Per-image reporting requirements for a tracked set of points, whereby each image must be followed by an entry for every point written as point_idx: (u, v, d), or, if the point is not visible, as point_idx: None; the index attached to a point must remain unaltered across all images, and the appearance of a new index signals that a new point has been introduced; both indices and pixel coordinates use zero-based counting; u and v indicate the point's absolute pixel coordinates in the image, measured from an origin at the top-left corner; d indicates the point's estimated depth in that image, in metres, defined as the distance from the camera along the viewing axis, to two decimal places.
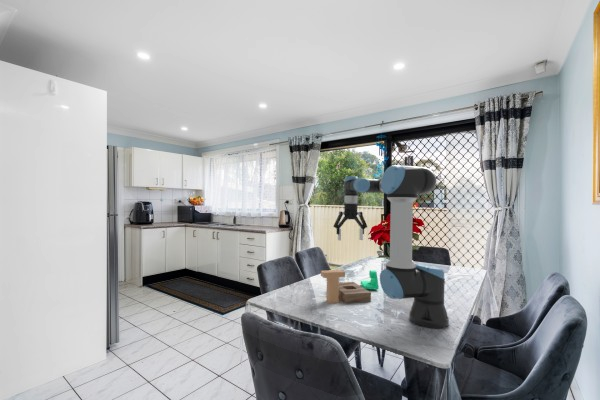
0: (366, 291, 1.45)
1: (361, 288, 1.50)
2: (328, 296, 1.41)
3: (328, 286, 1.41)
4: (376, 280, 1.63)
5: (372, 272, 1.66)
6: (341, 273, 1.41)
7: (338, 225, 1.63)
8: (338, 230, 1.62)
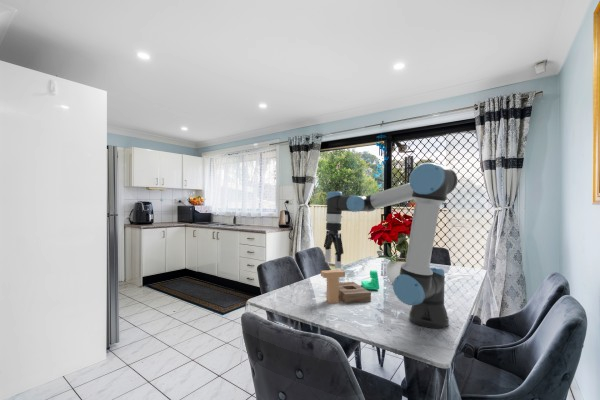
0: (366, 291, 1.45)
1: (361, 288, 1.50)
2: (328, 296, 1.41)
3: (328, 286, 1.41)
4: (377, 280, 1.63)
5: (373, 272, 1.66)
6: (341, 273, 1.41)
7: None
8: None
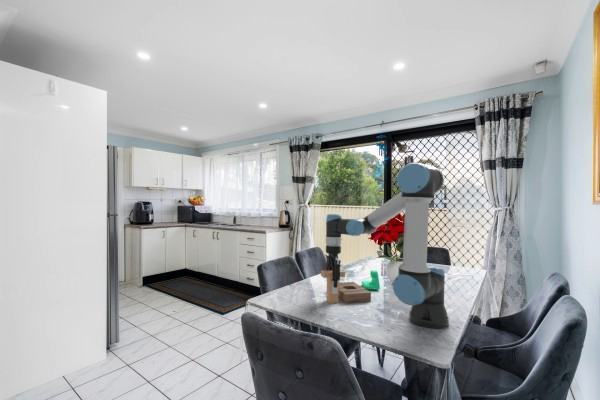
0: (366, 291, 1.45)
1: (361, 288, 1.50)
2: (328, 296, 1.41)
3: (328, 286, 1.41)
4: (377, 280, 1.63)
5: (373, 272, 1.66)
6: (341, 273, 1.41)
7: None
8: None
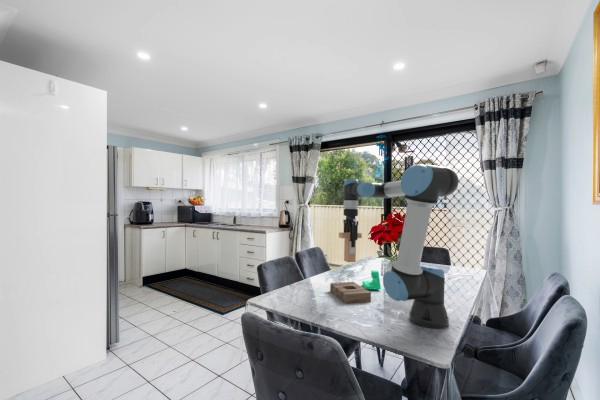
0: (366, 291, 1.45)
1: (361, 288, 1.50)
2: (346, 256, 1.50)
3: (346, 247, 1.51)
4: (378, 280, 1.63)
5: (374, 272, 1.66)
6: (358, 234, 1.50)
7: None
8: None
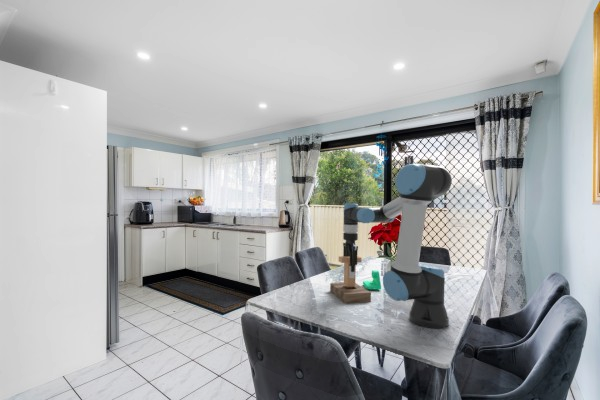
0: (366, 291, 1.45)
1: (361, 288, 1.50)
2: (345, 280, 1.50)
3: (345, 271, 1.50)
4: (378, 280, 1.63)
5: (374, 272, 1.66)
6: (358, 259, 1.50)
7: None
8: None
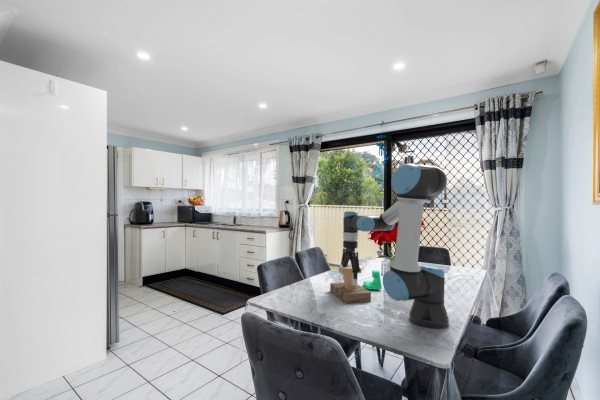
0: (366, 291, 1.45)
1: (361, 288, 1.50)
2: None
3: (345, 282, 1.50)
4: (379, 280, 1.63)
5: (375, 272, 1.66)
6: None
7: None
8: None
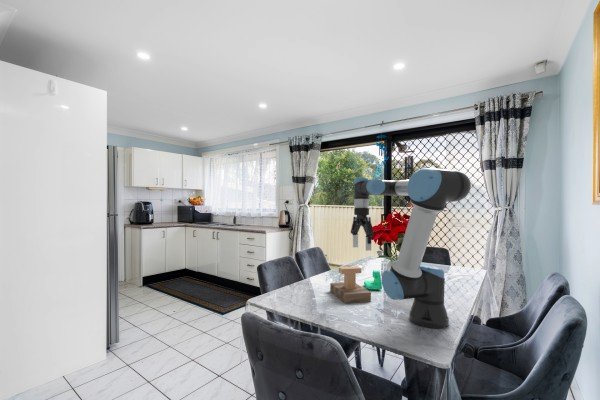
0: (366, 291, 1.45)
1: (361, 288, 1.50)
2: None
3: (345, 282, 1.50)
4: (380, 280, 1.63)
5: (375, 272, 1.66)
6: (358, 269, 1.50)
7: None
8: (353, 236, 1.54)
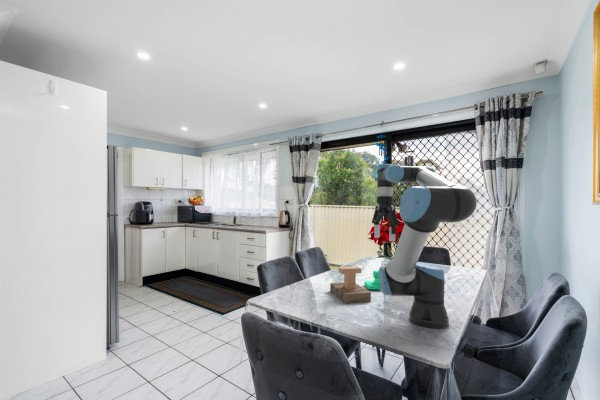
0: (366, 291, 1.45)
1: (361, 288, 1.50)
2: None
3: (345, 282, 1.50)
4: None
5: (376, 272, 1.66)
6: (358, 269, 1.50)
7: None
8: None
